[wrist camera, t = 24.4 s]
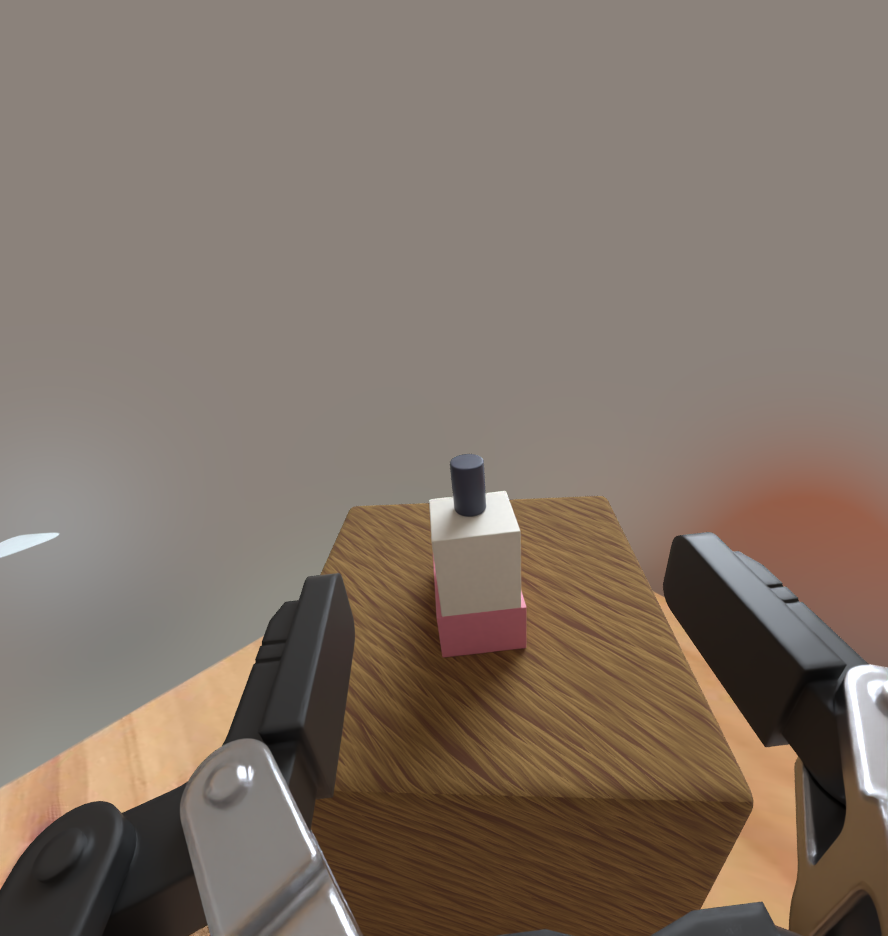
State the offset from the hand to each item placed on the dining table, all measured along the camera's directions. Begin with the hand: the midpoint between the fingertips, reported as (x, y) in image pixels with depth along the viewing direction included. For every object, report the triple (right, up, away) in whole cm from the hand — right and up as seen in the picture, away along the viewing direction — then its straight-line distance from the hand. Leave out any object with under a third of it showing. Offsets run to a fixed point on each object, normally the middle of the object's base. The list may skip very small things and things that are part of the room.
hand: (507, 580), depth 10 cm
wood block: (+3, -28, +32) cm, 43 cm away
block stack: (+1, -6, +20) cm, 21 cm away
